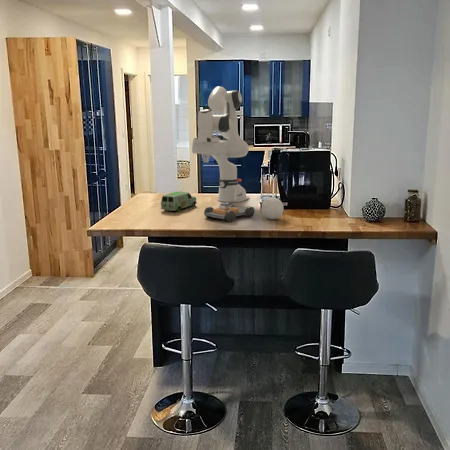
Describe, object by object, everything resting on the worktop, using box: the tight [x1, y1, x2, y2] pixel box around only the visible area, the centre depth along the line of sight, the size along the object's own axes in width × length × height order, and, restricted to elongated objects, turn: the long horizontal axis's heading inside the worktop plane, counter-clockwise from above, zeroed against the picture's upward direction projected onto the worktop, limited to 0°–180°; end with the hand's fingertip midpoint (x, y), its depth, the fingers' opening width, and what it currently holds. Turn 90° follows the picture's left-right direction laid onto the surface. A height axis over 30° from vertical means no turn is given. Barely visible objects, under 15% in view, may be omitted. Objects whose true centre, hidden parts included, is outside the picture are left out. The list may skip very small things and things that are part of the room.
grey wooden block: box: [218, 202, 232, 211], centre depth 281 cm, size 6×4×5 cm
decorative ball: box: [261, 197, 284, 220], centre depth 279 cm, size 12×12×12 cm
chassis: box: [203, 202, 256, 223], centre depth 284 cm, size 24×18×6 cm
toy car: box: [160, 191, 198, 213], centre depth 308 cm, size 11×25×10 cm, turn 151°
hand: (206, 162), depth 297 cm, fingers closed
